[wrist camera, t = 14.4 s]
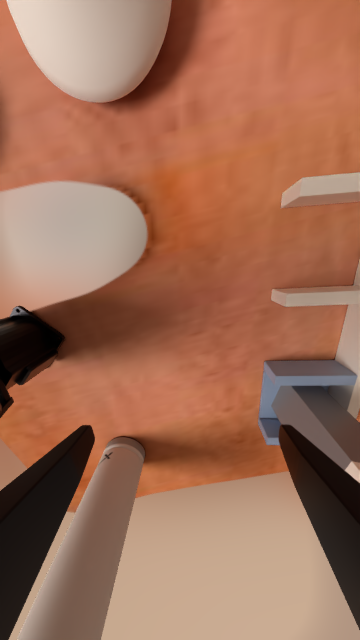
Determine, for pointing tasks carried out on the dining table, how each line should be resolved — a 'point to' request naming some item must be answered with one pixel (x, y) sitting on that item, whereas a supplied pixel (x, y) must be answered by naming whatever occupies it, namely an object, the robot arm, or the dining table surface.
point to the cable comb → (356, 338)
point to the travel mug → (89, 552)
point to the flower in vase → (93, 42)
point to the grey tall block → (321, 423)
